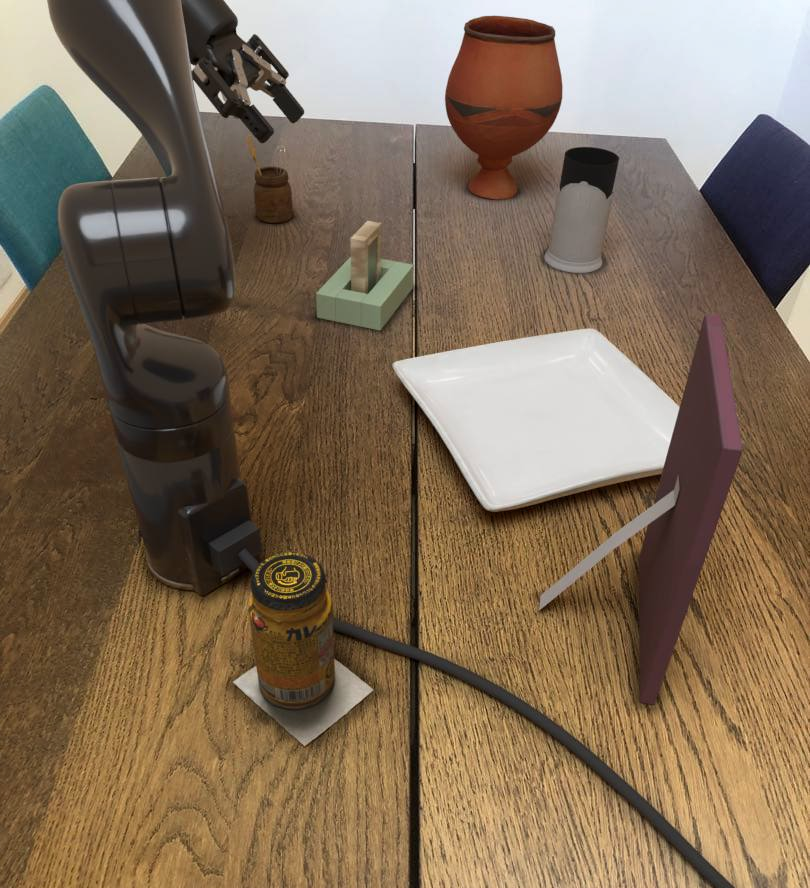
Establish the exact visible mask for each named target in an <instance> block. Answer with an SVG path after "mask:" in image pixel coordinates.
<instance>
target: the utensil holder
mask: <svg viewBox="0 0 810 888" xmlns="http://www.w3.org/2000/svg"><path fill="white" fill-rule="evenodd" d="M245 139H246V143H247V145H248V149H249V152H250V156H251V159H253V160H254V163H255V167H256V170H255V172H254V181H255V183H254V186H253V199H254V210H255V215H256V218H257V219H258V220H259V221H261V222H264V223H268V224H280V223H285V222H288V221H289V220H291V219H292V217H293V212H294V211H293V210H294V208H293V192H292V187H291V184H290V183H289V178H290V177H289V173H288V170H287V169H288V167H289V163H288V162H286V160H284V161H283V159H284V157H281V161H283V164H284V165H286V167H283V166H282V165H283V164H281V165H280V166H279V164H280V162H278V161H276V163H272V166H271V165H270V166H263V167H260V166H259V161H258V159H257V157H258V156H257V151H256V148H255V145H254V142H253V140H252V137H251V134H248V135H247V136H246V137H245ZM279 148H280V150H279ZM282 150H283V151H282ZM281 151H282V152H287V155H286V159H290V157H289V151H288V149H287V147H286V146H284V145H280V146H276V147H275V148H274V150H273V152H276V154H278V152H281ZM280 155H281V154H279V156H278V158H280ZM272 157H273V158H272V159H276V158H275V157H276V155H272ZM275 164H277V166H275Z"/></svg>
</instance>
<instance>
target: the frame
mask: <svg viewBox="0 0 810 888" xmlns="http://www.w3.org/2000/svg"><path fill="white" fill-rule="evenodd" d="M382 226H383V223H382V222H378V221H372V220H367V221H366V222H364V224H362V226H361V227H359V229H358V230H357V231H356V232H355V233H354V234H352V236H351V237H350V239H349V241H350V257H351V291H355V292H360V293H366V294H369V292H370V291H371V290H372V289H373V288H374V287H375V285H376V284H377V283H378V282H379V281H380V279H381V259H382V235H383V234H382V233H383V232H382V230H383V229H382Z"/></svg>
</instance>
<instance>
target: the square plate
mask: <svg viewBox="0 0 810 888" xmlns="http://www.w3.org/2000/svg"><path fill="white" fill-rule="evenodd" d="M391 367H392V369H393V371H394V373H395V375H396V376H397V378H398V379H399V380H400V382H401V383H402V385H403V386H404V388H405V389H406V390H407V391H408V393H409V394H410V395H411V397H412V398H413V399H414V400H415V402H416V403H417V405H418V406H419V408H420V409H421V410H422V411H423V413H424V415H426V417H427V418H428V420H429V421H430V423H431V424H432V426H433V428H434V429H435V430H436V433H438V435H439V437H440V438H441V440H442V441H443V443H444V445H445V446H446V448H447V449H448V451H449V453H450V454H451V457H452V458H453V460H454V462H455V463H456V465H457V467H458V469H459V471H460V472H461V475H462V476H463V478H464V479H465V480H466V483H467V484H468V486H469V488H470V490H472V492H473V494H474V495H475V497H476V499H477V500H478V502H479V503H480V505H481V506H482V508H484V509H485V510H486V511H489V512H492V513H493V512H494V513H496V512H497V513H498V512H503V511H504V512H505V511H510V510H517V509H521V508H525V507H529V506H534V505H538V504H541V503H544V502H547V501H552V500H554V499H555V500H556V499H558V498H562V497H566V496H570V495H574V494H577V493H578V494H579V493H583V492H585V491H590V490H594V489H598V488H601V487H605V486H610V485H614V484H619V483H623V482H629V481H632V480H638V479H641V478H647V477H653V476H657V475H662V471H663V467H664V464H665V460H666V456H667V452H668V449H669V445H670V441H671V438H672V434H673V430H674V426H675V423H676V419H677V415H678V412H679V408H680V405H679V404H677V403H676V402H675V401H674V400H673V399H672V398H671V397H670V396H669V395H668V394H667V393H666V392H664V391H663V389H661V387H659V386H658V384H656V383H655V382H654V381H653V379H651V378H650V377H649V376H648V375H647V374H645V372H644V371H642V369H641V368H639V366H637V365H636V364H635V363H634V362H633V361H632V360H631V359H630V358H628V357H627V356H626V355H625V354H624V353H623V352H622V351H621V350H619V348H618V347H616V346H615V345H614V344H613V343H612V342H611V341H610V340H609V339H608V338H607V337H605V336H604V335H603V334H602V333H601V332H600V331H599V330H597V329H595V328H590V327H589V328H581V329H575V330H573V329H572V330H567V331H566V330H565V331H561V332H559V331H558V332H553V333H547V334H540V335H532V336H526V337H521V338H516V339H515V338H514V339H508V340H503V341H502V340H501V341H497V342H490V343H485V344H480V345H474V346H468V347H462V348H458V349H451V350H447V351H441V352H436V353H431V354H425V355H420V356H415V357H410V358H405V359H401V360H397V361H394V362H393V363H392V365H391Z"/></svg>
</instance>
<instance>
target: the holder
mask: <svg viewBox="0 0 810 888" xmlns="http://www.w3.org/2000/svg"><path fill="white" fill-rule="evenodd" d="M414 267H415V265H414V264H412V263H406V262H402V261H395V260H390V259H384V258H381V279H380V281H379V282H378V283H377V284H376V285H375V287H374V288H373V289H372V290H371V291H370V292H369V294H366V293H360V292H355V291H351V256H350V257H349V258H347V259H346V260H345V262H344V263H343V264H342V265H341V266H340V267H339V268H338V269H337V270H336V271H335V273H333V275H332V276H331V277H330V278H329V279H327V281H326V282H325V283H324V284H323V285H322V286H321V287H320V288H319V290H318V291H316V292H315V300H316V301H315V302H316V303H315V304H316V318H317V319H321V320H327V321H331V322H336V323H341V324H346V325H351V326H355V327H360V328H365V329H370V330H375V331H382V329H383V328H384V327H385V325H387V323H388V322H389V321H390V319H391V318H392V316H393V315H394V314H395V312H396V311H397V310H398V308H399V307H400V306H401V304H402V303H403V302H404V300H406V298H407V296H409V294H410V292H411V291H412V290H413V288H414Z"/></svg>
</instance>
